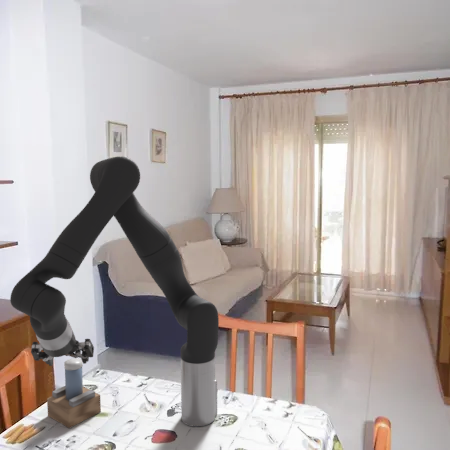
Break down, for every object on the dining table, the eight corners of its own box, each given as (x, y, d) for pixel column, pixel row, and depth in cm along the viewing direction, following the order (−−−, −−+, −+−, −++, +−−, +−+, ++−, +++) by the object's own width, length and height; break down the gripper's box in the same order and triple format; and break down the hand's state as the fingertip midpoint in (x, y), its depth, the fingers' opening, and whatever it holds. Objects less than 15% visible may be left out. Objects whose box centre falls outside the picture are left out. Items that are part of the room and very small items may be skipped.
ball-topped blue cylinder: (76, 391, 122) (75, 356, 121) (86, 395, 119) (85, 361, 119) (61, 397, 119) (60, 362, 118) (71, 402, 116) (70, 366, 115)
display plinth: (79, 400, 127) (78, 379, 126) (100, 411, 121) (99, 389, 120) (47, 415, 119) (46, 393, 118) (69, 428, 113) (68, 404, 112)
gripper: (88, 318, 104) (97, 346, 117) (26, 321, 102) (42, 349, 115) (85, 347, 100) (95, 373, 112) (20, 351, 98) (37, 377, 110)
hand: (68, 361), depth 113 cm, fingers open, 8 cm apart
